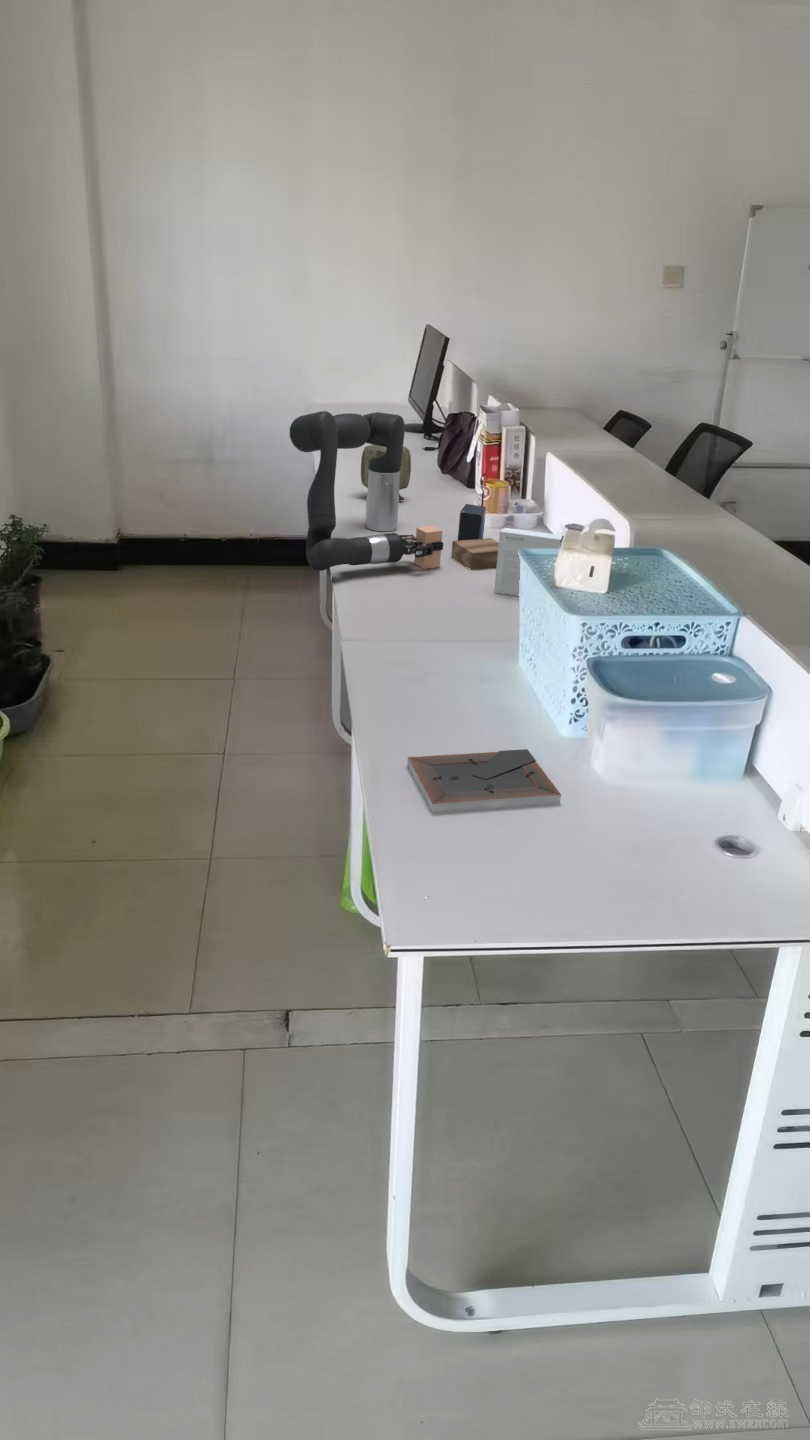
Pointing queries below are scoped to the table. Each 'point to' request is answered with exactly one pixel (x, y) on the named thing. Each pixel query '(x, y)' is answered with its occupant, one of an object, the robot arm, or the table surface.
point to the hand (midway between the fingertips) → (436, 542)
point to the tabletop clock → (378, 451)
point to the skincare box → (509, 555)
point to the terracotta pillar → (428, 536)
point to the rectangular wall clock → (482, 780)
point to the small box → (471, 522)
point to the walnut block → (476, 553)
